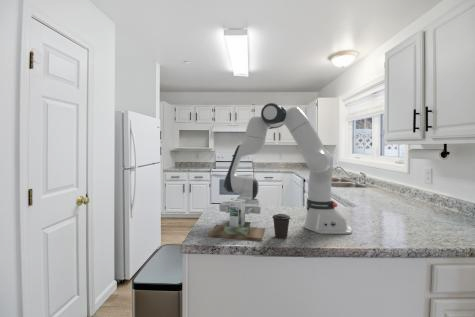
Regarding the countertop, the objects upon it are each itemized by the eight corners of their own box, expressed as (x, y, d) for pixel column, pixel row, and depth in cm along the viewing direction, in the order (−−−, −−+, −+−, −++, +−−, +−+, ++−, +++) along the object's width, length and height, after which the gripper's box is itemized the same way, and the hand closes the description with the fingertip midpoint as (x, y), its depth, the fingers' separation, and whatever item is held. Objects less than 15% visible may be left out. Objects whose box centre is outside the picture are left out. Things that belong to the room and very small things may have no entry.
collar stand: (264, 230, 130) (264, 221, 130) (261, 240, 116) (261, 231, 116) (216, 227, 134) (216, 218, 134) (208, 236, 121) (208, 227, 120)
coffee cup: (276, 240, 116) (276, 218, 116) (269, 234, 124) (269, 213, 124) (293, 238, 119) (293, 216, 118) (285, 232, 126) (285, 212, 126)
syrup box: (228, 231, 124) (229, 200, 123) (234, 228, 129) (234, 198, 128) (240, 233, 121) (240, 201, 120) (245, 229, 127) (245, 199, 126)
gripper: (222, 197, 139) (215, 203, 125) (262, 199, 135) (259, 206, 122) (222, 209, 139) (215, 217, 126) (262, 212, 135) (259, 219, 122)
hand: (237, 211), depth 124 cm, fingers open, 8 cm apart
